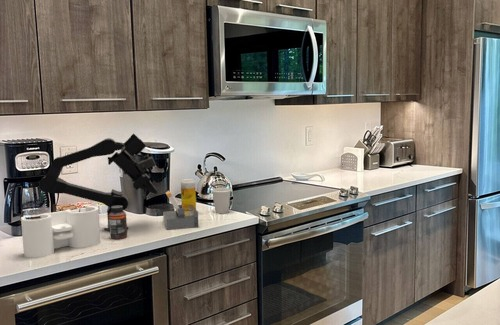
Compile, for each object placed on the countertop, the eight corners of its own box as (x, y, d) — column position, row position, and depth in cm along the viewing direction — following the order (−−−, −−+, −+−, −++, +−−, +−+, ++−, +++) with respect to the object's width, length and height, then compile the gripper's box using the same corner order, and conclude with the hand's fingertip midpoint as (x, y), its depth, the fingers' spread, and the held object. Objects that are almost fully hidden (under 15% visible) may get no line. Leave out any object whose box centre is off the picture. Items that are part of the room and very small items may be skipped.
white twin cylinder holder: (30, 260, 152) (27, 222, 151) (20, 253, 159) (17, 217, 158) (105, 243, 169) (103, 209, 168) (93, 238, 176) (91, 205, 175)
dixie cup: (235, 212, 212) (234, 189, 211) (218, 215, 208) (217, 192, 206) (225, 209, 219) (225, 187, 218) (209, 211, 215) (208, 189, 213)
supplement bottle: (120, 234, 181) (119, 204, 179) (130, 236, 177) (129, 205, 175) (106, 237, 176) (105, 206, 175) (116, 240, 172) (115, 208, 171)
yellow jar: (179, 214, 210) (177, 180, 209) (190, 212, 215) (188, 178, 213) (188, 216, 206) (187, 181, 205) (199, 214, 211) (198, 179, 209)
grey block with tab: (166, 229, 185) (166, 211, 184) (163, 221, 199) (162, 204, 198) (198, 227, 188) (197, 209, 188) (193, 219, 202) (192, 202, 201)
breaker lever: (178, 213, 190) (166, 194, 188) (176, 211, 195) (165, 192, 193) (181, 211, 191) (170, 192, 189) (180, 208, 195) (168, 190, 193)
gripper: (142, 152, 177) (173, 183, 181) (142, 146, 195) (170, 174, 199) (120, 174, 176) (151, 204, 180) (122, 166, 194) (150, 193, 198)
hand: (156, 193), depth 189 cm, fingers closed
